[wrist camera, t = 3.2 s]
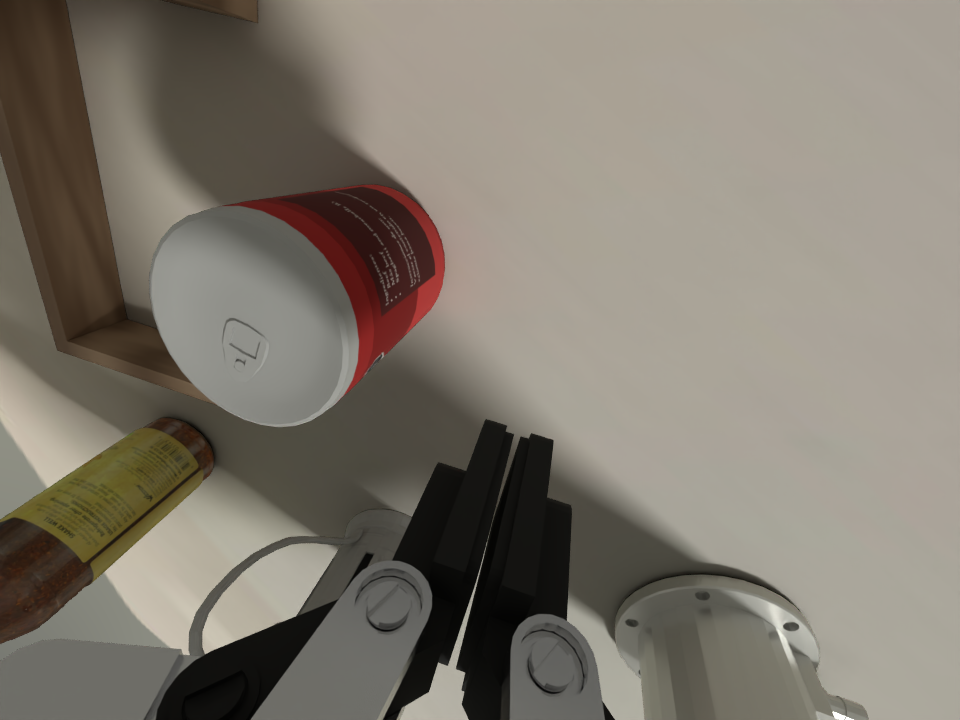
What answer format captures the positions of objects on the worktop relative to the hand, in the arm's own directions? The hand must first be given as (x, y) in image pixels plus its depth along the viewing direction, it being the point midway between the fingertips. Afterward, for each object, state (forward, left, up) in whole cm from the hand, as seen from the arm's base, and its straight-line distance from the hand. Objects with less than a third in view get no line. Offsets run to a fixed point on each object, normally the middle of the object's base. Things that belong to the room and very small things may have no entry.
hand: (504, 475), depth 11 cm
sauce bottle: (+25, +20, -14) cm, 35 cm away
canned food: (+10, 0, -14) cm, 17 cm away
